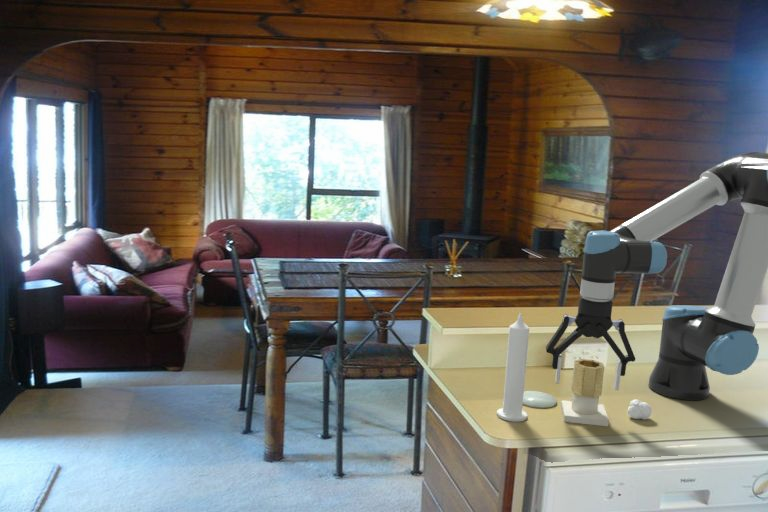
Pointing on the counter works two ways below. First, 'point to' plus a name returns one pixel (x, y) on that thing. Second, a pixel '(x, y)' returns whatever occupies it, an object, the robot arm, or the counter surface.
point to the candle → (515, 373)
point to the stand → (584, 411)
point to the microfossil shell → (639, 410)
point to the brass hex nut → (587, 378)
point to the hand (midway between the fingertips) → (586, 385)
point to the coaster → (538, 399)
